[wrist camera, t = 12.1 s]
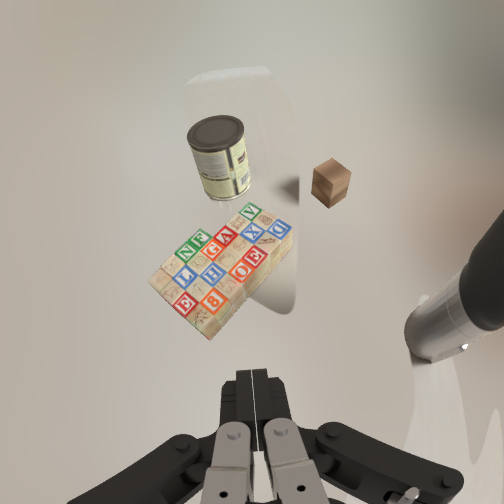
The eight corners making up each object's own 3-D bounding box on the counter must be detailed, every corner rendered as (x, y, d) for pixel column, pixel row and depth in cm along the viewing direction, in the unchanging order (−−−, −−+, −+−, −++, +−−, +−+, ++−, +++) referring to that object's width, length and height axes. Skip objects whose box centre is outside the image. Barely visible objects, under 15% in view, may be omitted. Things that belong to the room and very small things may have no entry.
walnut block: (345, 196, 54) (351, 172, 48) (328, 208, 53) (333, 184, 47) (328, 182, 57) (332, 157, 51) (311, 193, 56) (313, 168, 50)
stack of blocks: (293, 247, 50) (241, 214, 54) (294, 227, 44) (236, 192, 49) (209, 341, 43) (160, 295, 48) (198, 332, 37) (145, 280, 42)
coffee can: (207, 167, 62) (192, 117, 50) (252, 165, 61) (245, 112, 49) (199, 202, 57) (181, 150, 45) (249, 200, 56) (241, 145, 44)
